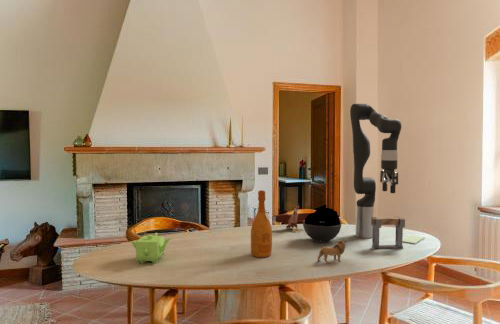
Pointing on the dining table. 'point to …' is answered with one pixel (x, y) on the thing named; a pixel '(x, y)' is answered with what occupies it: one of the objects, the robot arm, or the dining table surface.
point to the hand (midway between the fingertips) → (388, 192)
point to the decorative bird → (291, 218)
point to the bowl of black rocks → (322, 224)
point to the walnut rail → (387, 221)
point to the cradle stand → (398, 235)
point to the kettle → (150, 248)
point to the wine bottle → (261, 230)
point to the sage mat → (412, 239)
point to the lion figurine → (332, 251)
